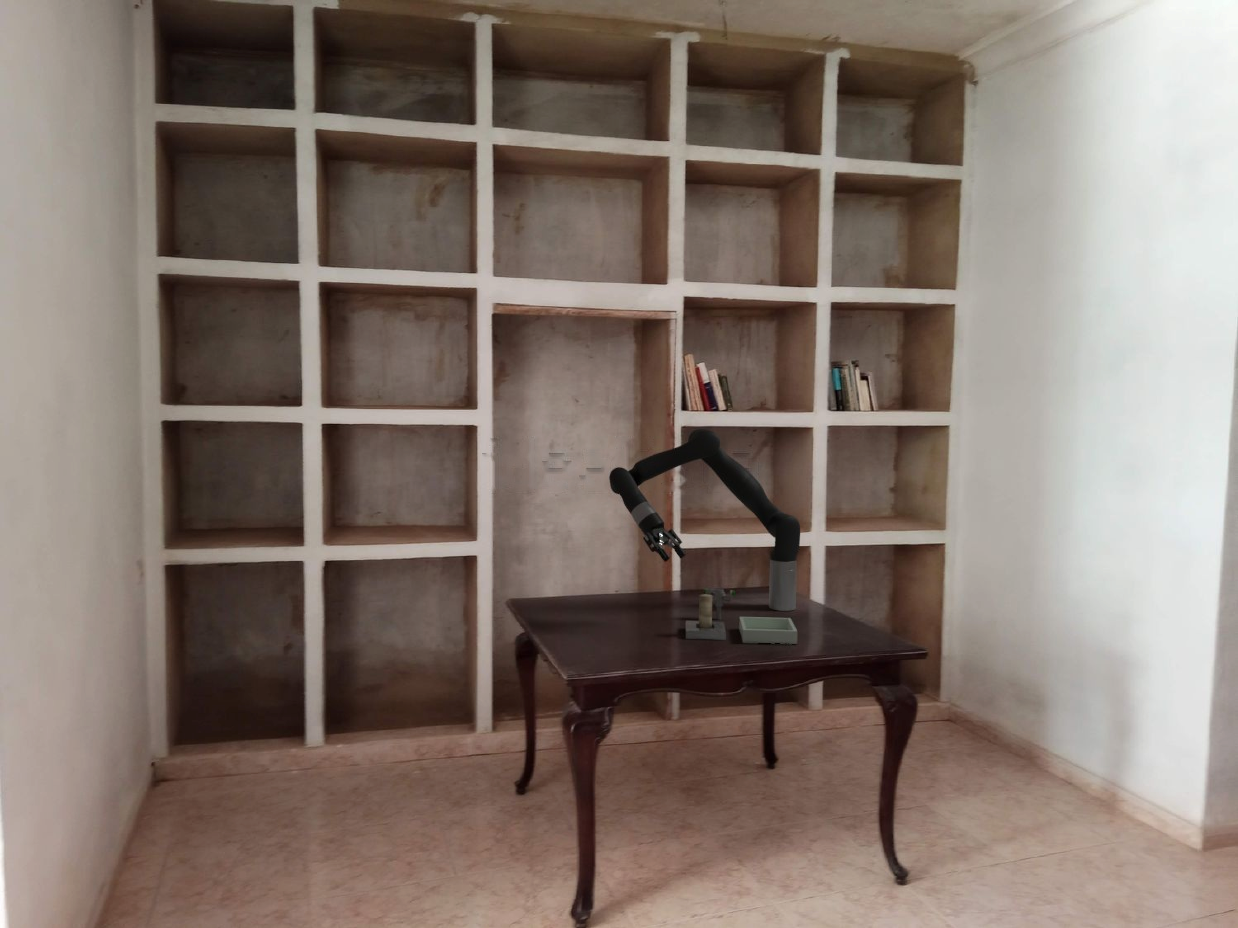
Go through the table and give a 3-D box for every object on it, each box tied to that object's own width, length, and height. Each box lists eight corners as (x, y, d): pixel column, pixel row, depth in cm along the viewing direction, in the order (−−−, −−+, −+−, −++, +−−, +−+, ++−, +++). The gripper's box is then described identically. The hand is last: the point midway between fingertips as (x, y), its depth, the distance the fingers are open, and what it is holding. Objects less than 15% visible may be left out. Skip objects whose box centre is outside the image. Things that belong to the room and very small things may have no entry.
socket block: (685, 628, 270) (685, 620, 270) (723, 629, 269) (723, 621, 269) (685, 638, 258) (685, 630, 258) (725, 639, 257) (725, 631, 257)
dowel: (698, 632, 266) (699, 594, 265) (711, 632, 266) (712, 594, 265) (698, 635, 262) (699, 597, 261) (711, 635, 262) (712, 597, 261)
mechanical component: (733, 621, 280) (734, 591, 279) (702, 619, 282) (703, 589, 281) (734, 618, 283) (734, 589, 282) (703, 617, 285) (704, 587, 284)
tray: (739, 629, 270) (739, 616, 270) (790, 630, 269) (790, 617, 269) (742, 642, 254) (743, 629, 254) (797, 644, 253) (797, 631, 253)
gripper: (640, 513, 269) (669, 553, 262) (667, 509, 280) (695, 548, 273) (627, 528, 272) (655, 568, 266) (653, 524, 284) (681, 562, 277)
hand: (675, 558), depth 270 cm, fingers open, 8 cm apart
